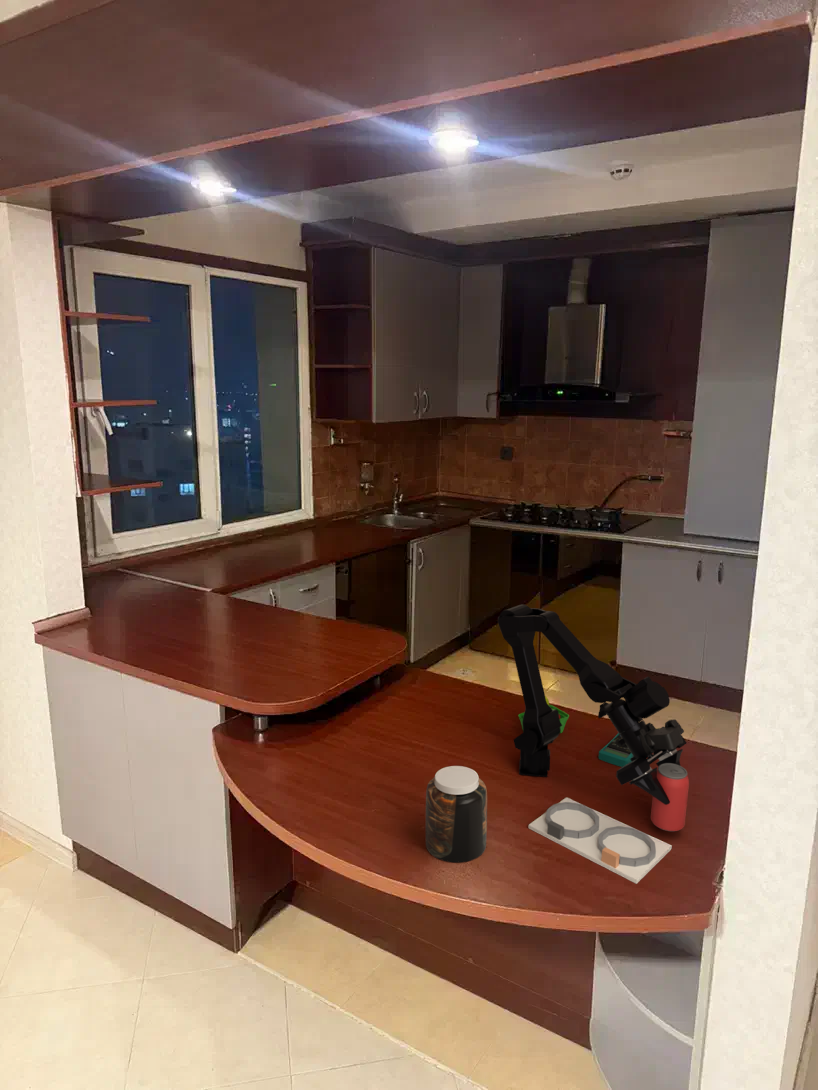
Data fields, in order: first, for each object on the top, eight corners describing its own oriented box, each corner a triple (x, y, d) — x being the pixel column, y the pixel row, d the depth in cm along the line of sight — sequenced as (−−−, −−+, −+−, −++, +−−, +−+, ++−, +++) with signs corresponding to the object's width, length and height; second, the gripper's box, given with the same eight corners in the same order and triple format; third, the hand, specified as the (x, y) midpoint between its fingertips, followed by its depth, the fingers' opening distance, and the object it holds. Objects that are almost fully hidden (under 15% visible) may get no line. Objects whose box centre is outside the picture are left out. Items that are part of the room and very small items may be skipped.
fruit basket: (535, 745, 186) (536, 703, 183) (513, 730, 193) (514, 690, 191) (569, 733, 191) (571, 693, 189) (547, 720, 199) (548, 681, 196)
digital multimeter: (649, 745, 186) (649, 735, 185) (626, 770, 175) (627, 759, 174) (620, 737, 190) (621, 726, 190) (597, 761, 179) (597, 749, 178)
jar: (461, 872, 139) (462, 800, 136) (414, 846, 146) (414, 778, 143) (497, 842, 148) (499, 774, 144) (450, 819, 155) (451, 754, 152)
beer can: (686, 835, 147) (692, 780, 144) (652, 830, 148) (657, 777, 145) (681, 815, 153) (687, 763, 150) (648, 811, 154) (653, 759, 151)
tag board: (528, 828, 152) (529, 814, 151) (566, 800, 162) (567, 787, 161) (636, 883, 136) (637, 868, 135) (671, 849, 146) (672, 834, 145)
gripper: (634, 726, 141) (684, 802, 136) (681, 697, 154) (728, 765, 149) (596, 748, 149) (641, 821, 144) (644, 718, 161) (687, 784, 156)
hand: (676, 797), depth 148 cm, fingers closed on beer can, 7 cm apart
